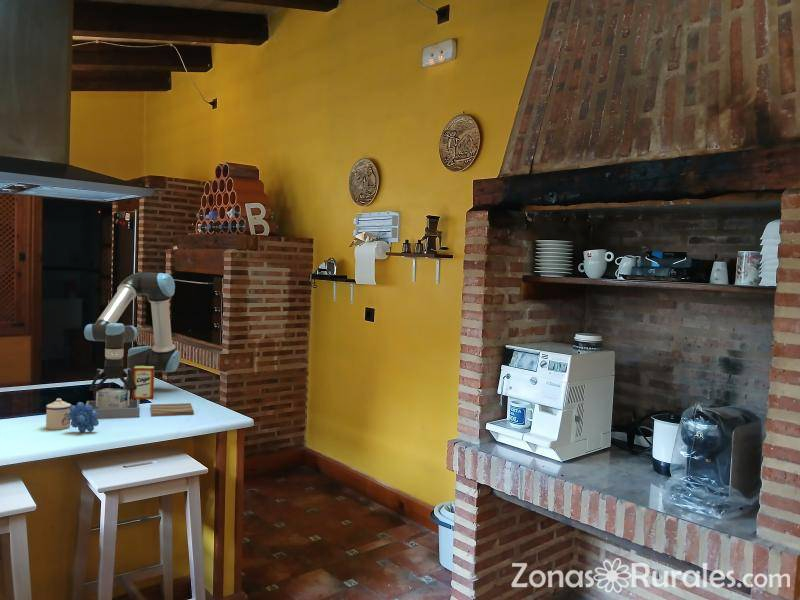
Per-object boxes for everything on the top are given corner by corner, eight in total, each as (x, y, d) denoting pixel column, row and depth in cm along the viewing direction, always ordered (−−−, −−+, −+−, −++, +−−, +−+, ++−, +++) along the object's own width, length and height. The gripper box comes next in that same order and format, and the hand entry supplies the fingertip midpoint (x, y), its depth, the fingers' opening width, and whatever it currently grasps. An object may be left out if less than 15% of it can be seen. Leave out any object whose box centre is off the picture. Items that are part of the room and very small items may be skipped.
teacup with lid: (65, 430, 250) (66, 401, 249) (41, 430, 248) (42, 401, 248) (76, 423, 262) (77, 395, 261) (53, 422, 260) (54, 394, 260)
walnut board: (150, 407, 295) (150, 404, 295) (190, 406, 302) (190, 403, 302) (151, 416, 279) (151, 413, 279) (193, 414, 286) (193, 411, 286)
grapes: (63, 434, 243) (63, 404, 243) (69, 430, 250) (69, 400, 249) (95, 434, 245) (96, 404, 245) (100, 430, 252) (101, 401, 251)
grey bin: (86, 409, 285) (87, 400, 285) (139, 407, 294) (139, 399, 294) (83, 419, 268) (83, 410, 268) (139, 417, 276) (139, 408, 276)
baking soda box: (153, 396, 320) (154, 365, 319) (152, 399, 314) (153, 367, 313) (133, 396, 317) (134, 365, 316) (132, 399, 311) (133, 367, 310)
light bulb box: (127, 412, 284) (128, 389, 283) (119, 415, 277) (120, 391, 276) (105, 410, 285) (106, 387, 284) (96, 414, 278) (97, 390, 277)
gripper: (83, 359, 272) (81, 408, 272) (143, 358, 281) (142, 406, 282) (84, 356, 278) (83, 404, 279) (143, 356, 288) (142, 402, 289)
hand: (112, 405), depth 281 cm, fingers closed on light bulb box, 12 cm apart
